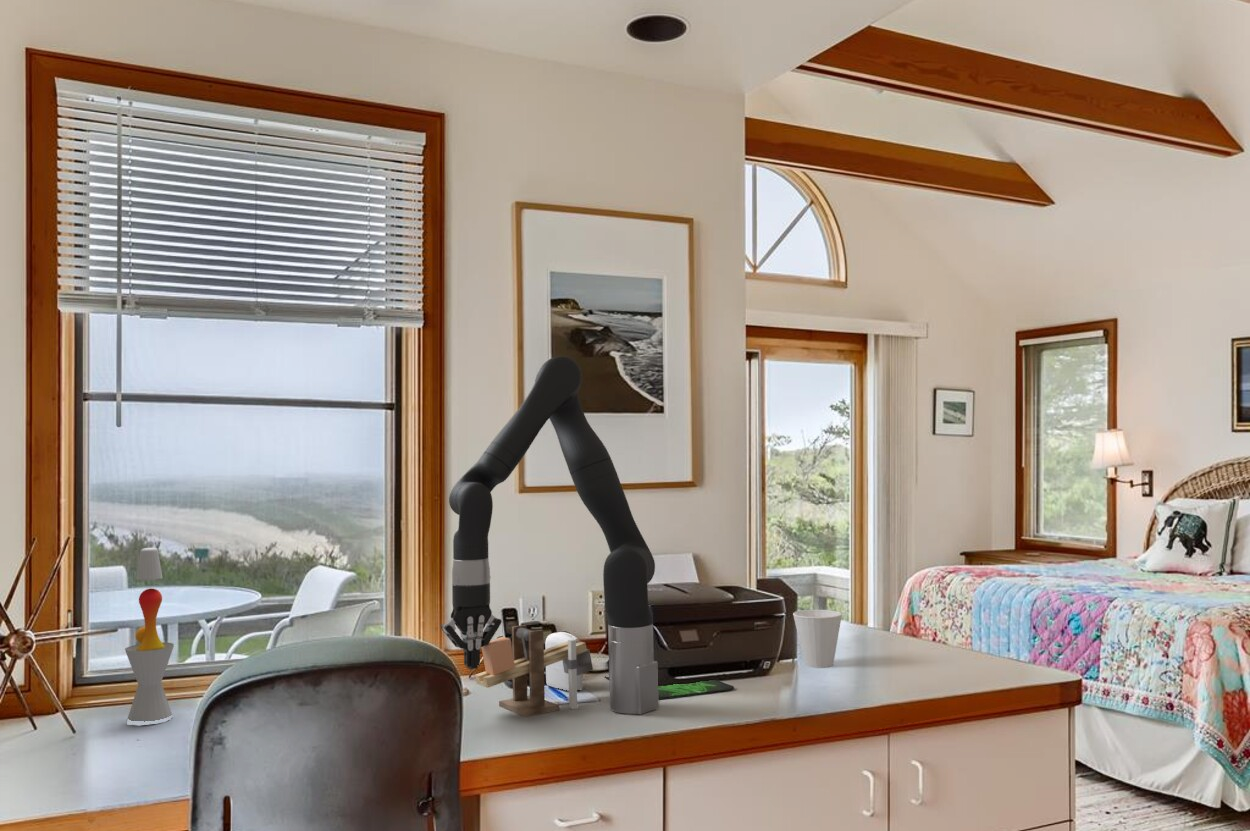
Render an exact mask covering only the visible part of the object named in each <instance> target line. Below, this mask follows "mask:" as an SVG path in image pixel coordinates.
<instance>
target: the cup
mask: <svg viewBox="0 0 1250 831" xmlns="http://www.w3.org/2000/svg"><path fill="white" fill-rule="evenodd" d="M792 615H793V620H794V623H795V627H796V632H797V636H798V641H799V645H800V649H801V653H802V654H801V655H802V658H803V662H804V666H806V667H809V668H815V669H817V668H819V669H821V668H823V669H825V668H830V667H833V666H834V662H835V656H836V651H837V645H838V639H839V633H840V628H841V622H842V618H843V613H842V612H840V611H837V610H833V609H832V610H830V609H801V610H796V611H794V612H793V613H792Z"/></svg>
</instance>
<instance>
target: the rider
mask: <svg viewBox="0 0 1250 831" xmlns="http://www.w3.org/2000/svg"><path fill="white" fill-rule="evenodd" d="M480 649H481V652H482V659H483V664H484V670H485V671H486V673H488V674H490V675H496V674H499V673H502V672H504V671H507V670H510V669H513V668H515V663H514V658H513V652H512V640H511V638H508V637H505V636H499V637H497V638H495V639H491V641H490V642H489V644H488V645H485V646H483V647H481V648H480Z"/></svg>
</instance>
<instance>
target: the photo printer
mask: <svg viewBox="0 0 1250 831" xmlns="http://www.w3.org/2000/svg"><path fill="white" fill-rule="evenodd" d="M571 639H574V640H577V642H578V643H579V642H581V640H580V639H579V638H577V636H575V635H573V634H571V633H570V632H569V633H568V632H566V631H565V632H564V631H558V632H553V633H550V634H548V635H547V636H546V639H545V642H544V643H545V644H544V648H545V649H548V648H551V647H554V646H556V645H559V644H562V643H565V642H567V641H568V640H571ZM545 649H544V650H545ZM583 680H584V679H583V674H580V675H578V676H577V690H580V689H581V690H582V689H583V688H584V683H583ZM545 682H546V685H547V686H549V687H552V688H556V689H558V688H559V690H562V689H563V690H562V691H566V690H567V692H569V674H568V673H564V667H563V661H562V660H561V661H559V662H556V663H553V664H551V665H548V666H545ZM581 690H580V691H581Z"/></svg>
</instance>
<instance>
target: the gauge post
mask: <svg viewBox="0 0 1250 831" xmlns="http://www.w3.org/2000/svg"><path fill="white" fill-rule="evenodd" d="M567 668H569V691H568V708H569V709H570V708H571V710H575V709H574V708H577V709H578V691H577V659H576V640H574V639H571V640H568V659H567Z"/></svg>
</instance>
